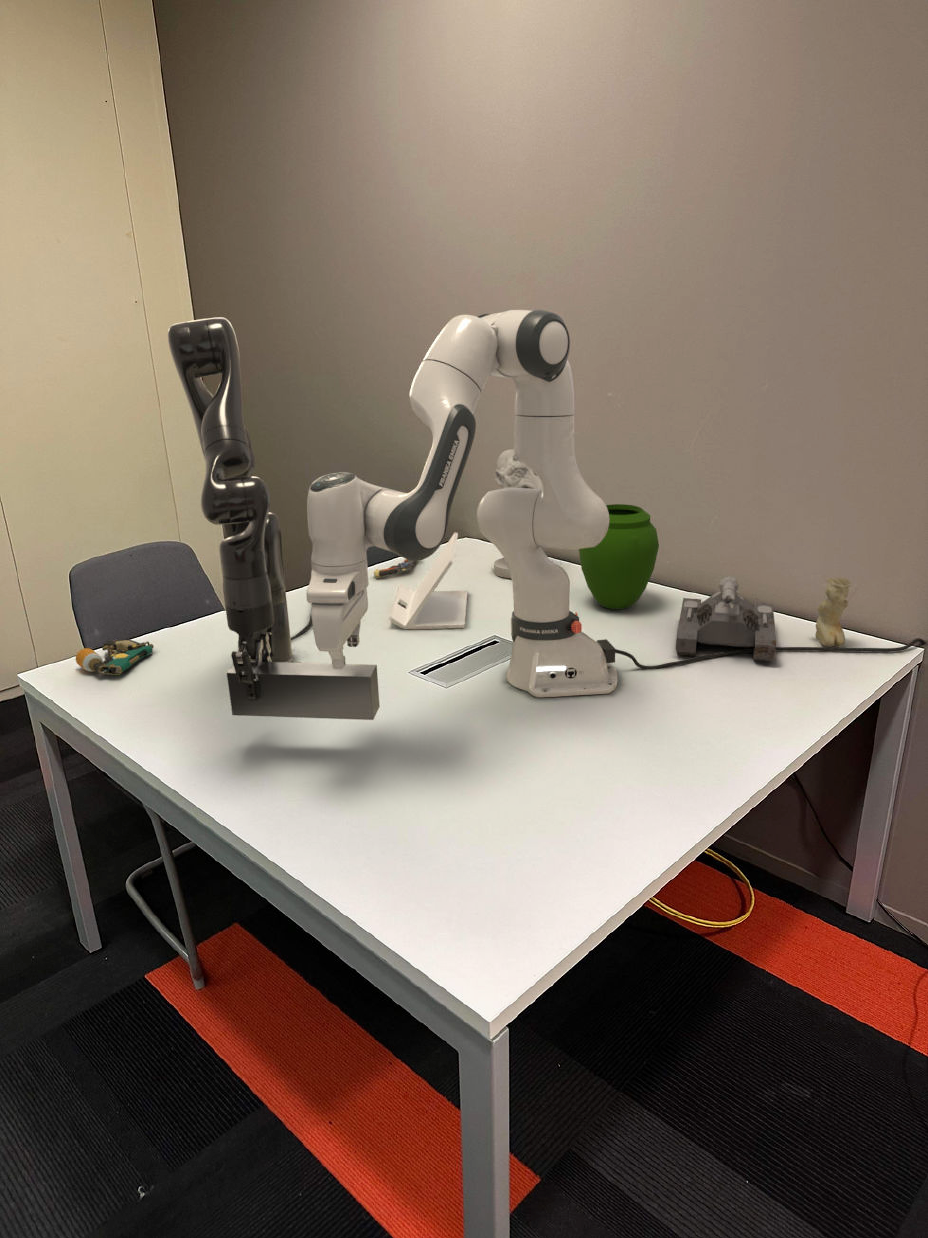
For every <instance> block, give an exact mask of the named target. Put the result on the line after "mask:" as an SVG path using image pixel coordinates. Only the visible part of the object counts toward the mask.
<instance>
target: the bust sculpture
mask: <svg viewBox="0 0 928 1238" xmlns="http://www.w3.org/2000/svg"><path fill="white" fill-rule="evenodd" d="M494 480H495V482H496V484H497V486H498V487H501V489H505V488H527V489H543V485H542V482H541V480H540V478H539V477H538V476H537V474H536V473H535V472H533V471H531V470H529V469H528V468H526V467H524V466H523V465H522V464H521V463H520V462H519V461H518V459H517V458H516V456H515V453H514V448H512V449H506V450H504V451H502V452H501V454H500V455H499V457H498V459H497V461H496V468H495V471H494ZM493 573H494V574H495V575H496V576H497V577H500V578H506V579H512V577H511V573H510V570H509V567H508V565H507V563H506V561H505V559H504V557H502V558H498V559H496V560H495V561H494V562H493Z"/></svg>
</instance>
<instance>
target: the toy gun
mask: <svg viewBox="0 0 928 1238" xmlns="http://www.w3.org/2000/svg"><path fill="white" fill-rule="evenodd" d="M417 562H419V561H411V560H408V559H405V558H404V560H403V561H402V562H398V564H396V565H392V566H390V567H388V568H384V569H379V568H377V569H375V570H374V571H373V575H374V578H375V579H379V578H383V577H387V576H391V575H395V574H398V573H404V572H406V571H407V572H408V571H409V570H410V569H411V568H413V567H414V565H415V564H416V563H417Z"/></svg>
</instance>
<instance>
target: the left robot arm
mask: <svg viewBox="0 0 928 1238" xmlns="http://www.w3.org/2000/svg"><path fill="white" fill-rule="evenodd" d="M167 341H168V347H169V351H170V355H171V357H172V361H173V363H174V367H175V370H176V372H177V375H178V377H179V380H180V383H181V386H182V388H183V391H184V394H185V396H186V399H187V403H188V405H189V409H190V411H191V415H192V417H193V418H192V419H193V423H194V425H195V429H196V433H197V438H198V440H199V444H200V448H201V452H202V455H203V459H204V462H205V475H204V481H203V484H202V491H201V495H200V496H201V497H200V508H201V511H202V515H203V516H204V518H205V519H206V520H207V521H208V522H209V523H211V524H213V525H215V526H222V527H223V534H224V539H222V541H221V542H220V543H219V556H220V564H221V566H220V567H221V572H222V573H221V574H222V592H223V599H224V604H225V605H224V607H225V613H226V614H225V615H226V621H227V623H226V624H227V627H228V629H229V630H230V631H232V632H234V633H235V634H237V635H238V639H237V649H238V650H236V651H232V652H231V660H232V664H233V665H234V668H235V672H236V676H237V680H238V682H245V687H246V695H247V699H248V700H249V701H259V700H260V698H261V694H260V686H259V679H258V678H259V667H260V666H261V664H262V662H287V663H293V661H294V654H293V650H292V641H293V640H295V639H297V638H299V637H301V636H302V635H303V634H304V633H305V632H306V631H307V630H309V628H310V627H311V626H312V625H313V624H312V616H311V615H310V617H309V621H308V623H307V624H306V625H305V626H304V628H302V629H301V630H300V631H299V632H298V633H297V634H295V635H294V636H292V637H291V627H290V619H289V611H288V602H287V593H286V584H285V574H284V573H285V572H284V560H283V545H282V541H283V540H282V528H281V522H280V520H279V516H277V514H276V513H274V512H271V511H270V507H271V491H270V488H269V486H268V485H267V483H266V481H264V480H263V479H262V478H260V477H259V476H253V474H254V471H255V469H256V463H257V462H256V455H255V451H254V447H253V443H252V438H251V434H250V432H249V430H248V428H247V426H246V425H245V419H244V418H245V417H244V406H243V405H244V403H243V400H244V399H243V381H242V380H243V379H242V366H241V355H240V349H239V345H238V340H237V336H236V333H235V330H234V328H233V326H232V324H231V322H230V321H229V320H228V319H227V318H225V317H212V318H211V317H210V318H209V317H208V318H201V319H196V320H190V321H189V320H188V321H183V322H178V323H174V324H171V326H170V327H169V328H168V332H167ZM219 375H221V379H220V382H219V385H218V387H217V388H216V389H217V390H216V391H215V393H214V395H213V394H212V393H211V392H210V391H209V390H208V388H207V386H206V385H205V383H204V382H203V380H202V378H205V377H213V376H219ZM233 665H232V666H233ZM252 667H253V670H252Z"/></svg>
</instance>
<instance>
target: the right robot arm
mask: <svg viewBox="0 0 928 1238" xmlns="http://www.w3.org/2000/svg"><path fill="white" fill-rule="evenodd" d="M569 333H570V332H569V330H568V327H567V325H566V323H565V321H564V320H563V318H562V317H561V316H560V315H558V314H557V313H554V312H552V311H549V310H543V309H535V310H529V309H510V310H506V311H501V312H496V313H484V314H480V315H478V316H476V315H473V314H460V315H456V316H454V317H452V318H451V319H450V320H449V321H448V322H447V323H446V325H445V326H444V327H443V328H442V329H441V331H440V333H439V334H438V335H437V336H436V338H435V339H434V341H433V342H432V344H431V346H430V347H429V348H428V351H426V354H425V356H424V358H422V359H423V360H422V361H421V363H420V365H419V368H418V369H417V371H416V373H415V375H414V377H413V380H412V382H411V385H410V390H409V397H408V398H409V403H410V405H411V409H412V411H413V413H414V415H415V417H416V418H417V419H418V420H419V422H421V423H422V424H423V426H425V427H426V428H427V429H428V430H429V431H430V432H431V435H432V445H431V448H430V450H429V453H428V457H427V459H426V462H425V465H424V467H423V470H422V472H421V475H420V478H419V481H418V484H417V485H416V486H415V488H414V489H412V490H411V491H410V492H404V491H398V490H396V489H393V488H388V487H383V486H379V485H376V484H373V483H369V482H367V481H365V480H362V479H361V478H359V477H357V475H356V474H354V473H353V472H347V471H339V472H332V473H331V472H330V473H328V474H325V475H322V476H320V477H318V478H316V479H315V480H314V481H313V482H312V483H311V484H310V486H309V489H308V492H307V499H306V516H307V517H306V518H307V520H306V521H307V529H308V530H307V531H308V537H309V539H310V542H311V555H310V565H311V571H310V579H309V580H310V581H309V584H308V586H307V589H306V592H305V593H306V602H307V603H309V604H311V608H310V609H311V610H310V613H311V615H310V617H311V616H312V624H311V625H312V629H313V637H314V643H315V646H316V648H317V649H318V651H320V652H326V653H328V654H329V657H330V659H331V664H332V666H333V668H334V669H343V667H344V666H345V664H347V663H346V655H344V651H343V650H344V646H345V644H347V647H349V648H356V647H358V646H359V644H360V633H361V621H362V619H363V618H364V616H365V615H366V613H367V612H368V608H369V599H368V587H369V570H368V555H367V554H368V553H367V550H368V549H369V548H372V547H376V548H378V549H382V550H385V551H389V552H392V553H393V554H395V555H397V556H398V557H402V558H404V560H405V559H408V560H411V561H418V562H419V561H423V560H425V559H428V558H429V557H431V556H432V555H433V554H434V553H436V552H437V551H438V549H440V547H441V546H442V544H443V542H444V540H445V538H446V536H447V531H448V526H449V525H448V524H449V518H450V513H451V509H452V505H453V502H454V499H455V496H456V493H457V490H458V487H459V485H460V484H459V483H460V481H461V479H462V476H463V474H464V470H465V468H466V464H467V461H468V459H469V455H470V453H471V449H472V446H473V443H474V440H475V436H476V428H477V422H476V417H475V416H474V415H475V409H476V406H477V404H478V401H479V399H480V397H481V394H482V393H483V391H484V388H485V386H486V383H487V382H488V379H489V377H490V376H493V377H500V378H512V380H513V383H514V385H515V388H516V389H515V398H514V416H513V417H514V423H513V427H514V428H513V449H514V453H515V456H516V458H517V459H518V461H519V462H520V463H521V464H522V465H523V466H524V467H526V468H528V469H529V470H531V471H533V472H535V473H536V474H537V476H538V477H539V478H540V480H541V482H542V485H543V489H527V488H505V489H503V488H499V489H494V490H493V489H492V490H489V491H487V492H486V493H485V494H484V495H483V497H482V498H481V500H480V501H479V504H478V506H477V510H476V522H477V526H478V529H479V531H480V533H481V535H482V536H483V537H484V538H485V539H486V540H488V541H489V542H490V543H491V544H492V545H494V547H496V549H497V550H498V551H499V553H500V554H501V556H502V558H504V559H505V561H506V563H507V565H508V567H509V570H510V573H511V577H512V578H511V582H512V583H511V584H512V595H513V596H512V597H513V611H512V612H511V618H510V635H511V640H512V645H511V646H512V647H511V655H510V660H509V665H508V669H507V672H506V675H505V678H506V681H507V683H509V684H510V685H511V686H513V687H515V688H517V689H519V690H522V691H525V692H527V693H529V694H530V695H531V696H533V697H535V698H556V697H572V696H573V697H574V696H588V695H589V696H590V695H591V696H592V695H607V694H611V693H612V692H613V691H615V690H616V688H617V686H618V673H617V670H616V668H615V667H614V666H613V665H612V663H613V664H614V663H616V654H619V655H623V656H625V657H628V658H629V659H631V661H632V662H633V664H634V665H635V666H636V667H637V668H639V669H642V670H658V669H659V670H660V669H664V668H668V667H673V666H678V665H684V664H689V663H692V662H697V661H700V660H705V659H706V660H707V659H710V658H711V659H712V658H715V657H716V658H717V657H721V656H729V655H737V654H747V653H753V648H742V649H733V650H727V651H720V652H719V651H718V652H715V653H709V654H703V655H699V656H693V657H689V658H687V659H681V660H677V661H671V662H667V663H666V662H665V663H662V664H657V665H644V664H641V663H639V662H638V660H637V658H636V657H635V656H634V655H633V654H631V653H630V652H627V651H626V650H625V651H624V650H621V649H617V648H616V647H615V646H613V644H612V643H611V642H610V641H609V640H608V639H606V638H605V639H604V638H603V639H597V640H595V639H593V638H591V637H590V636H589V635H587V634H586V633H585V632H583V631H582V630H583V626H582V625H583V624H582V622H581V621H580V616H579V615H578V612H577V611H575V613H574V612H573V611H571V610H570V590H571V589H570V586H571V585H570V584H571V581H570V577H569V575H568V573H567V571H566V570H565V569H564V568H563V567H562V566H561V565H559V564H558V563H556V562H554V561H553V560H552V559H550V558H549V557H548V556H547V554H546V553H545V551H544V549H543V548H548V549H549V548H550V549H551V548H552V549H560V550H561V549H562V550H579V549H582V548H590V547H595V546H597V545H598V544H599V543H600V542H601V541H602V540H603V539H604V537H605V535H606V533H607V531H608V527H609V512H608V509H607V506H606V505H607V504H606V503H605V502H604V500H603V499H602V497H600V496H599V495H598V494H597V493H596V492H594V491H593V490H592V489H591V487H590V486H589V485H588V484H587V482H586V481H585V479H584V477H583V476H582V474H581V472H580V469H579V466H578V463H577V459H576V451H575V389H574V387H575V386H574V378H573V372H572V366H571V364H570V362H569V360H568V358H569V354H570V348H571V347H570V346H571V339H570V334H569ZM916 643H921V645H926V644H927V642H926V641H925V640H924V639H923V638H921V637H918V638H914V639H913V640H911V641H910V642H908V643H907V644H906V645H904V646H899V647H883V648H882V647H881V648H880V647H835V646H832V647H826V646H825V647H823V646H776V652H781V651H783V652H787V651H789V652H791V651H792V652H793V651H795V652H796V651H797V652H798V651H800V652H801V651H805V652H806V651H808V652H811V651H812V652H818V651H819V652H872V653H875V652H877V653H879V652H880V653H890V652H891V653H894V652H901V651H905V650H907V649H910V648H911V647H912V646H914V645H915V644H916Z"/></svg>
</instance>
